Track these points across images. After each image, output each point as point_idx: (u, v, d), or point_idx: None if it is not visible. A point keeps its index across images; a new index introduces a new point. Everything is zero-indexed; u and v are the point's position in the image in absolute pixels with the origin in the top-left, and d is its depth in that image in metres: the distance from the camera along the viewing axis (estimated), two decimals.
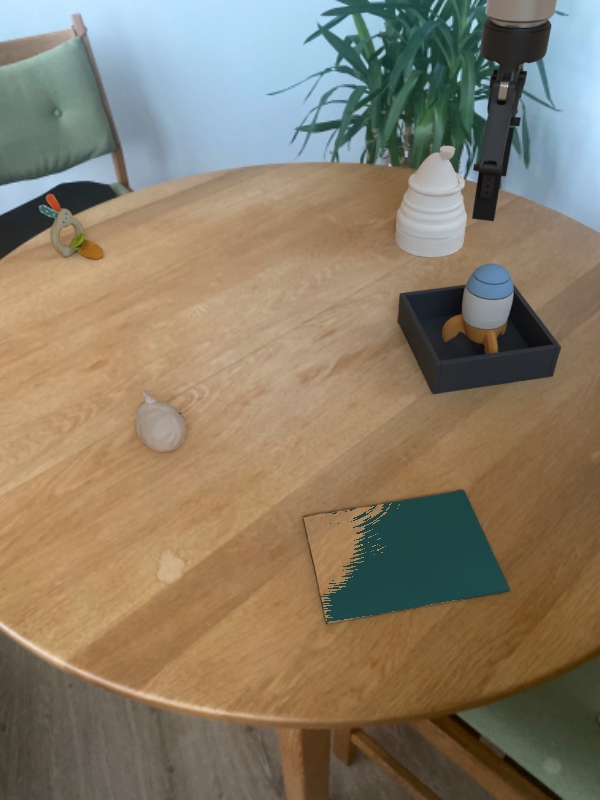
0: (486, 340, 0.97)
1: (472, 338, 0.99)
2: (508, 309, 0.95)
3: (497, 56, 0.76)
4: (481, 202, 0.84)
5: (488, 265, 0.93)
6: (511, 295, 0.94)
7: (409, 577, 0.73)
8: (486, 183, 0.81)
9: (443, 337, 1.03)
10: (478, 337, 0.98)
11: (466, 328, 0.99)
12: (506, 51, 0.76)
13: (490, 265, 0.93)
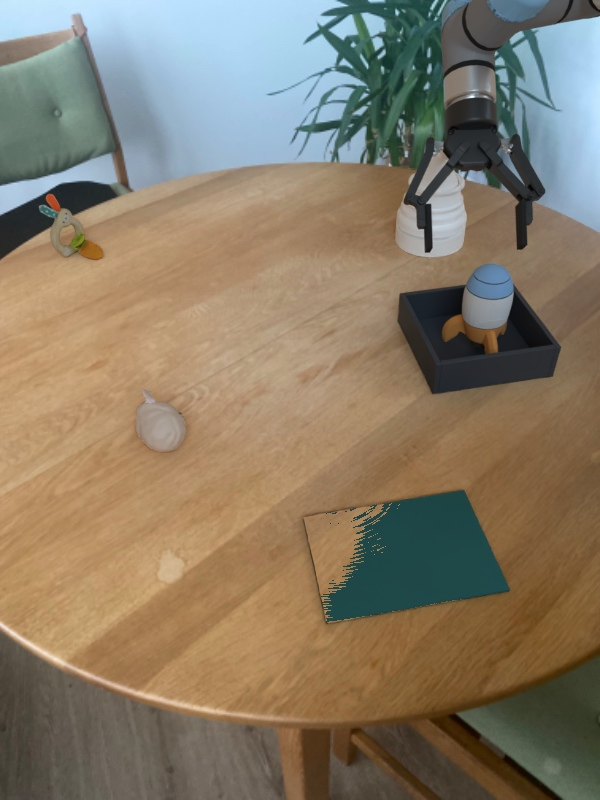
0: (486, 340, 0.97)
1: (472, 338, 0.99)
2: (508, 309, 0.95)
3: None
4: (425, 235, 1.00)
5: (488, 265, 0.93)
6: (511, 295, 0.94)
7: (409, 577, 0.73)
8: (416, 215, 0.99)
9: (443, 337, 1.03)
10: (478, 337, 0.98)
11: (466, 328, 0.99)
12: None
13: (490, 265, 0.93)
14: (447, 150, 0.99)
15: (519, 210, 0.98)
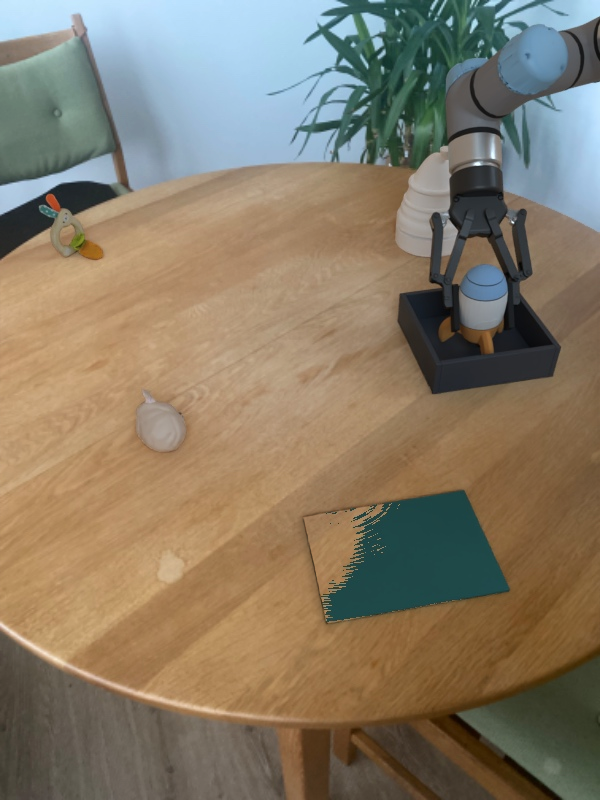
0: (481, 340, 0.97)
1: (468, 338, 0.99)
2: (502, 309, 0.95)
3: None
4: (451, 315, 0.97)
5: (481, 266, 0.93)
6: (505, 296, 0.93)
7: (409, 577, 0.73)
8: (443, 294, 0.97)
9: (440, 337, 1.03)
10: (474, 337, 0.98)
11: (462, 329, 0.99)
12: None
13: (483, 266, 0.93)
14: (452, 217, 0.97)
15: None
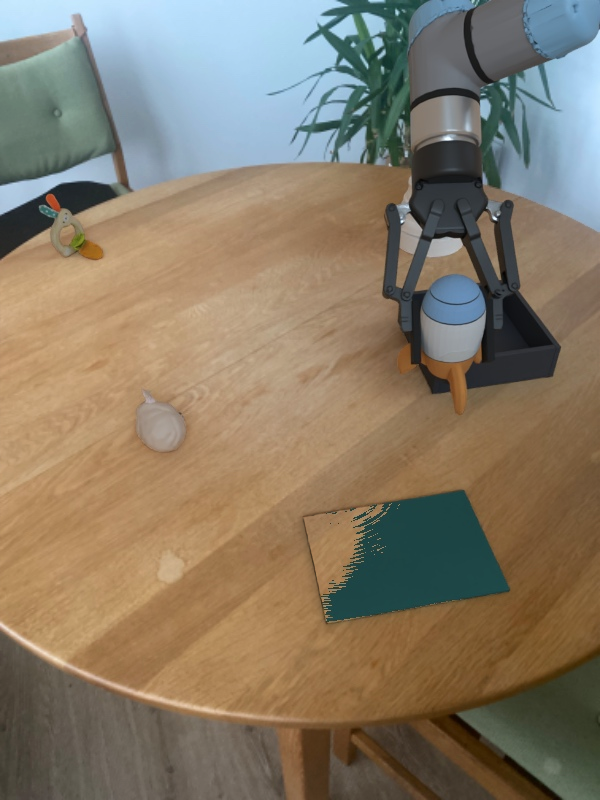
0: (451, 376, 0.72)
1: (434, 372, 0.74)
2: (479, 336, 0.70)
3: None
4: (411, 342, 0.73)
5: (449, 277, 0.68)
6: (482, 317, 0.69)
7: (409, 577, 0.73)
8: (400, 314, 0.73)
9: (399, 368, 0.79)
10: (441, 372, 0.73)
11: (425, 359, 0.74)
12: (411, 176, 0.74)
13: (452, 277, 0.68)
14: (414, 211, 0.72)
15: None
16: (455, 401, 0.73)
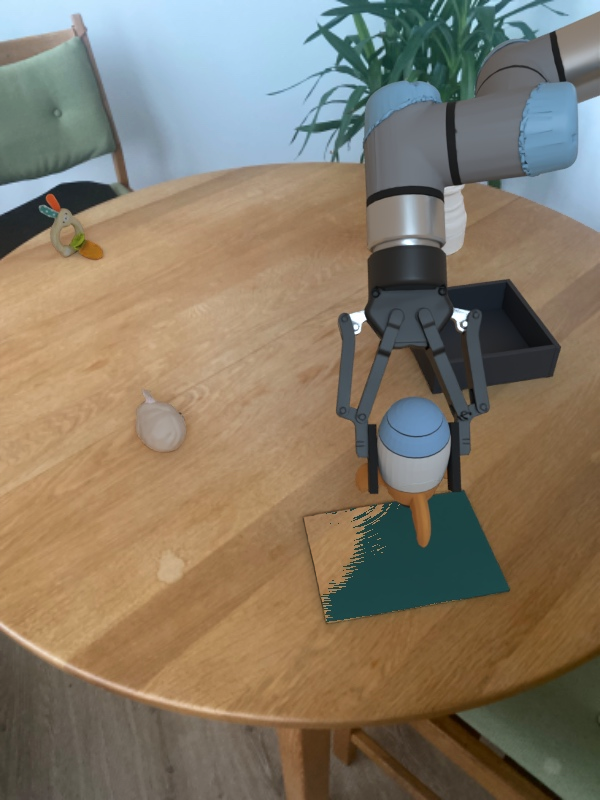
0: (413, 506, 0.64)
1: (395, 498, 0.66)
2: (443, 466, 0.62)
3: None
4: (368, 467, 0.65)
5: (408, 403, 0.60)
6: (445, 448, 0.61)
7: (409, 577, 0.73)
8: (355, 436, 0.64)
9: (358, 486, 0.70)
10: (402, 499, 0.65)
11: (385, 484, 0.66)
12: None
13: (411, 403, 0.60)
14: (370, 321, 0.64)
15: None
16: (418, 534, 0.65)
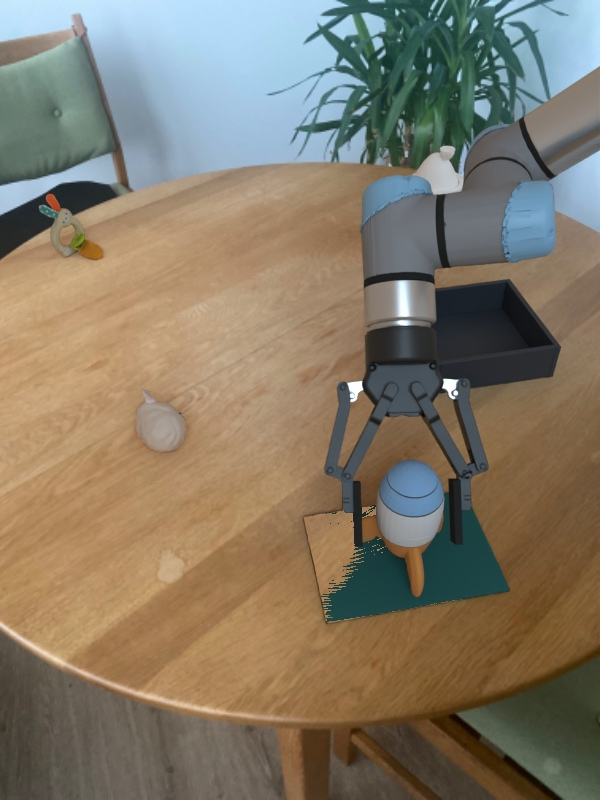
0: (408, 559, 0.70)
1: (391, 551, 0.72)
2: (436, 523, 0.68)
3: None
4: None
5: (407, 466, 0.66)
6: (439, 508, 0.67)
7: None
8: None
9: None
10: (398, 552, 0.71)
11: (383, 538, 0.72)
12: None
13: (410, 467, 0.66)
14: (367, 393, 0.70)
15: (452, 492, 0.69)
16: (412, 585, 0.70)
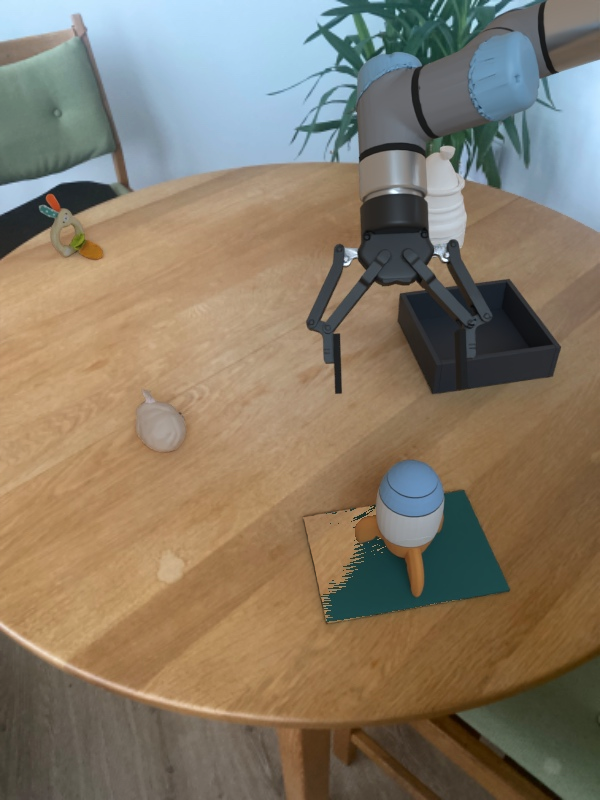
0: (408, 559, 0.70)
1: (391, 551, 0.72)
2: (436, 523, 0.68)
3: None
4: None
5: (407, 466, 0.67)
6: (439, 508, 0.67)
7: None
8: None
9: (356, 538, 0.76)
10: (398, 552, 0.71)
11: (383, 538, 0.72)
12: None
13: (410, 467, 0.66)
14: (362, 261, 0.74)
15: (458, 341, 0.74)
16: (412, 585, 0.70)
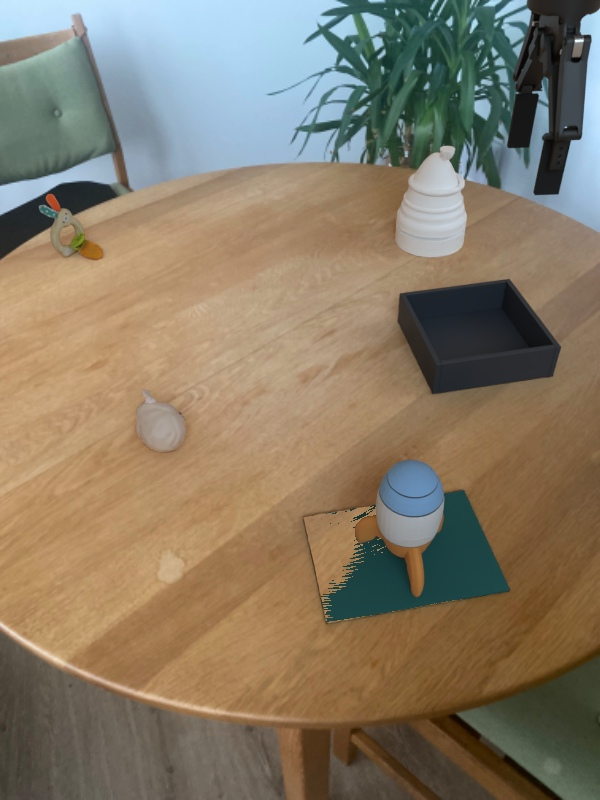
0: (408, 559, 0.70)
1: (391, 551, 0.72)
2: (436, 523, 0.68)
3: None
4: None
5: (407, 466, 0.67)
6: (439, 508, 0.67)
7: None
8: None
9: (356, 538, 0.76)
10: (398, 552, 0.71)
11: (383, 538, 0.72)
12: None
13: (410, 467, 0.66)
14: None
15: None
16: (412, 585, 0.70)
